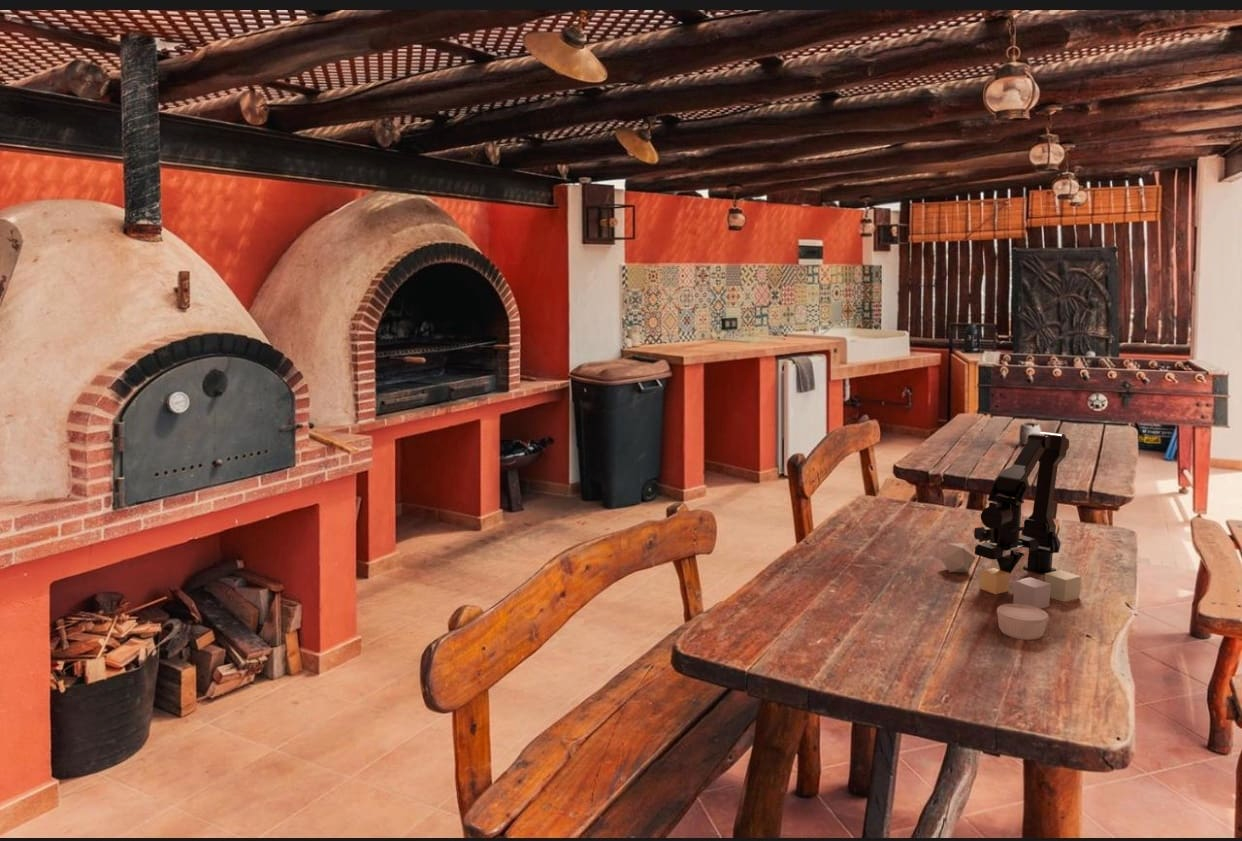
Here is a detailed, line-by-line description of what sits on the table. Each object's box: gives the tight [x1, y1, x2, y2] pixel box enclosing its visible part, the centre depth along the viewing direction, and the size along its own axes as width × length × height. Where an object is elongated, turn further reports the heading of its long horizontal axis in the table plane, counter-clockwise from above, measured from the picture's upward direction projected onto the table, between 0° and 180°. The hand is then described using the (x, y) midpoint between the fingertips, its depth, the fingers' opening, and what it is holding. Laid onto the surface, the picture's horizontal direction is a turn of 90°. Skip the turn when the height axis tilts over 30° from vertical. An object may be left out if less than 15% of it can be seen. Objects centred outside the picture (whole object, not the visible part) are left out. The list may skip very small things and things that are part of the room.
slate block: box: [1012, 576, 1051, 610], centre depth 231 cm, size 6×6×6 cm
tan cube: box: [1044, 569, 1082, 603], centre depth 237 cm, size 6×6×6 cm
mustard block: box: [979, 567, 1011, 595], centre depth 242 cm, size 5×5×5 cm
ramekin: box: [996, 603, 1049, 641], centre depth 213 cm, size 11×11×5 cm
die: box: [940, 542, 976, 573], centre depth 258 cm, size 8×9×10 cm
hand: (1004, 577), depth 244 cm, fingers closed
